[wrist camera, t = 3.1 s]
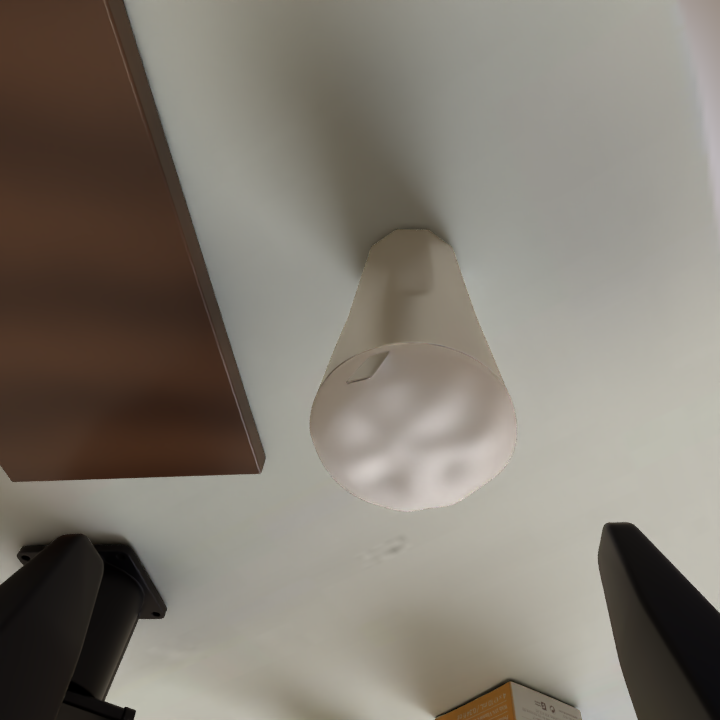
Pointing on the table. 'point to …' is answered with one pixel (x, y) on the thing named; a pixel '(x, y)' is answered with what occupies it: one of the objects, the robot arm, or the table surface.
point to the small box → (513, 706)
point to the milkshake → (412, 384)
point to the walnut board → (102, 268)
